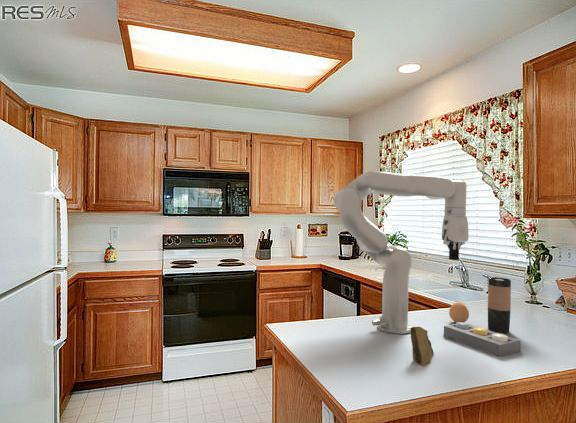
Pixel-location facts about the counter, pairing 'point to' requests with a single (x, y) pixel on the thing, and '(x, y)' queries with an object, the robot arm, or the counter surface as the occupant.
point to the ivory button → (500, 337)
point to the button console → (482, 340)
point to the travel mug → (499, 304)
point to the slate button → (462, 325)
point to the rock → (421, 346)
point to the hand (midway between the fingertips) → (453, 259)
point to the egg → (459, 312)
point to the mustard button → (480, 331)
